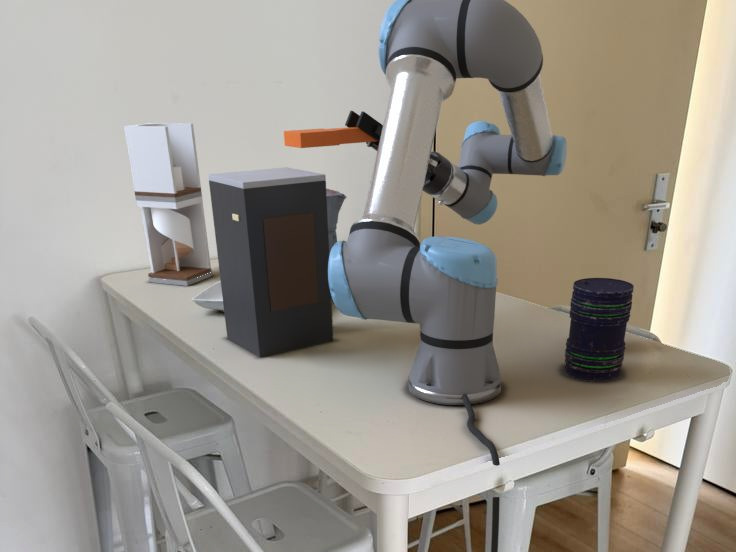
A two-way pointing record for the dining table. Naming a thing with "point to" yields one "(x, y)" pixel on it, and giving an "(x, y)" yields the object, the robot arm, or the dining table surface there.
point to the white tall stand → (169, 201)
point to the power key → (325, 137)
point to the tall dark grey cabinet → (273, 258)
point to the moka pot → (333, 214)
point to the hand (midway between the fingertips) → (354, 118)
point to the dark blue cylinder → (597, 328)
